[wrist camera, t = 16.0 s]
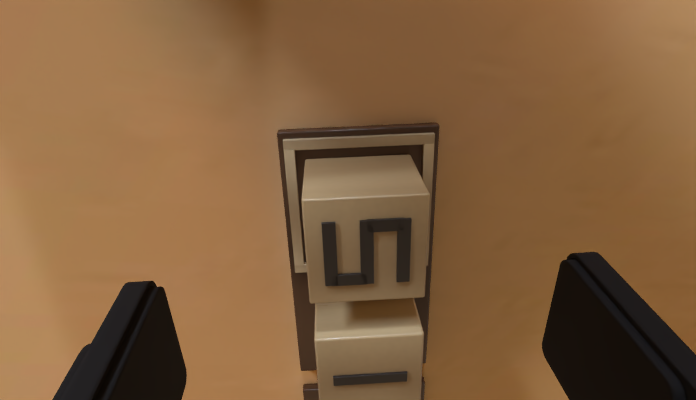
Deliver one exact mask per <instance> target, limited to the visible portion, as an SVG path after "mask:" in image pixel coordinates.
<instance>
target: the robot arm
mask: <svg viewBox="0 0 696 400" xmlns="http://www.w3.org/2000/svg"><path fill="white" fill-rule="evenodd" d="M542 349H543V353H544V356H545V358H546V360H547V362H548V364H549V365H550V367H551V369H552V371H553V372H554V374H555V376H556V377H557V379H558V381H559V383H560V384H561V386H562V388H563V390H564V391H565V393H566V395H567V396H568V398H569V400H696V355H695V353H694V352H693V351H692V350H691V349H690V348H689V347H688V346H687V345H686V344H685V343H684V342H683V341H682V340H681V339H680V338H679V337H678V336H677V335H676V334H675V333H674V331H673V330H672V329H671V328H670V327H669V326H668V325H667V324H666V323H665V322H664V321H663V320H662V319H661V318H660V317H659V316H658V315H657V314H656V313H655V312H654V311H653V310H652V308H651V307H650V306H649V305H648V304H647V303H646V302H645V301H644V300H643V299H642V298H641V297H640V296H639V295H638V294H637V293H636V292H635V291H634V290H633V289H632V288H631V286H630V285H629V284H628V283H627V282H626V281H625V280H624V279H623V278H622V277H621V276H620V275H619V274H618V273H617V272H616V271H615V270H614V269H613V268H612V267H611V266H610V265H609V263H608V262H607V261H606V260H605V259H604V258H603V257H602V256H601V255H600V254H598V253H597V252H585V253H572V254H570V255H569V256H568V257H567V260H563V261H562V262H561V264H560V268H559V272H558V276H557V281H556V285H555V289H554V294H553V298H552V302H551V307H550V311H549V315H548V320H547V324H546V328H545V333H544V337H543V341H542ZM186 376H187V374H186V367H185V363H184V360H183V356H182V352H181V349H180V345H179V341H178V338H177V334H176V330H175V327H174V323H173V319H172V316H171V312H170V308H169V305H168V301H167V297H166V294H165V290H164V288H163V287H157V286H156V284H155V283H154V281H142V282H128V283H126V284H125V285H124V286H123V288H122V289H121V291H120V293H119V295H118V296H117V298H116V300H115V302H114V304H113V305H112V307H111V309H110V311H109V313H108V314H107V316H106V318H105V320H104V321H103V323H102V325H101V327H100V329H99V330H98V332H97V334H96V336H95V338H94V339H93V341H92V343H91V344H88V345H86V346H85V347H84V348H83V349H82V350H81V352H80V353H79V355H78V356H77V358H76V360H75V361H74V363H73V365H72V367H71V368H70V370H69V372H68V374H67V375H66V377H65V379H64V381H63V382H62V384H61V386H60V388H59V389H58V391H57V393H56V394H55V396H54V398H53V400H181V399H182V396H183V392H184V389H185V385H186Z"/></svg>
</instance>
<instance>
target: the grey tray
mask: <svg viewBox="0 0 696 400" xmlns="http://www.w3.org/2000/svg"><path fill="white" fill-rule="evenodd" d="M277 137H278V147H279V157H280V167H281V177H282V187H283V197H284V207H285V217H286V227H287V237H288V247H289V257H290V267H291V277H292V287H293V297H294V306H295V316H296V326H297V336H298V346H299V356H300V366H301V371H307V370H317V380H318V392H319V400H421V383H422V364H423V363H426V350H427V333H428V315H429V297H430V280H431V262H432V244H433V227H434V209H435V192H436V174H437V156H438V139H439V125H438V124H437V123H420V124H398V125H375V126H353V127H330V128H308V129H286V130H278V132H277ZM407 154H409V155H411V157H412V159H413V161H414V163H415V166H416V168H417V170H418V172H419V174H420V176H421V178H422V180H423V182H424V184H425V186H426V188H427V190H428V192H429V194H430V203H429V223H428V242H427V262H426V281H425V296H424V297H421V298H403V299H386V300H368V301H350V302H333V303H315V304H311V303H310V301H309V289H308V276H307V264H306V252H305V240H304V228H303V216H302V203H301V199H302V188H303V177H304V166H305V160H306V159H322V158H343V157H365V156H386V155H407Z"/></svg>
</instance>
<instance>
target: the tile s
mask: <svg viewBox="0 0 696 400" xmlns="http://www.w3.org/2000/svg"><path fill="white" fill-rule="evenodd" d="M301 203H302V216H303V228H304V240H305V252H306V264H307V276H308V289H309V301H310V303H311V304H315V303H333V302H350V301H368V300H386V299H403V298H421V297H424V296H425V281H426V262H427V242H428V223H429V203H430V194H429V192H428V190H427V188H426V186H425V184H424V182H423V180H422V178H421V176H420V174H419V172H418V170H417V168H416V166H415V163H414V161H413V159H412V157H411V155H409V154H407V155H386V156H365V157H343V158H322V159H306V160H305V166H304V177H303V188H302V199H301Z"/></svg>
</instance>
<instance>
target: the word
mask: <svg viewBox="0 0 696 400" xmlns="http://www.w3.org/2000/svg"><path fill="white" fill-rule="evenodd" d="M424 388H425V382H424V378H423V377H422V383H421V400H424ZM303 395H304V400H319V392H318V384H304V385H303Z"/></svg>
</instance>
